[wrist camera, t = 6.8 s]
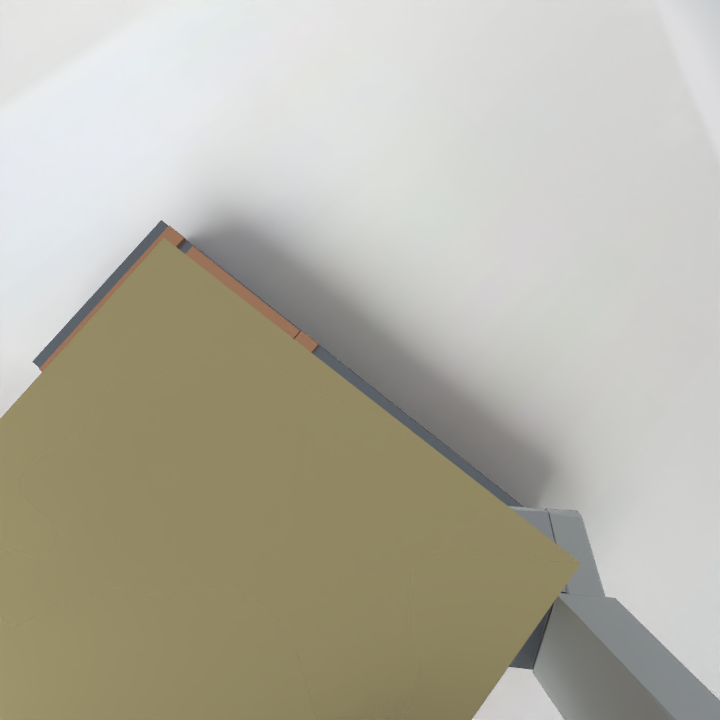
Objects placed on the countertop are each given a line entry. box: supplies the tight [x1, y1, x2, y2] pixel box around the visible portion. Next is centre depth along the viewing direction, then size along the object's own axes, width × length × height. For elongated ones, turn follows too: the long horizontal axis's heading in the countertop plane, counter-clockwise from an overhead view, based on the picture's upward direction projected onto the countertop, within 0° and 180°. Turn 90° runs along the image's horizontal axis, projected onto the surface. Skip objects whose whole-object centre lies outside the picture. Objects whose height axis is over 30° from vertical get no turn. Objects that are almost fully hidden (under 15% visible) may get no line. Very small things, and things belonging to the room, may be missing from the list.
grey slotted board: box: [33, 220, 523, 507], centre depth 26 cm, size 20×8×3 cm, turn 51°
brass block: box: [0, 238, 581, 720], centre depth 11 cm, size 4×4×12 cm
